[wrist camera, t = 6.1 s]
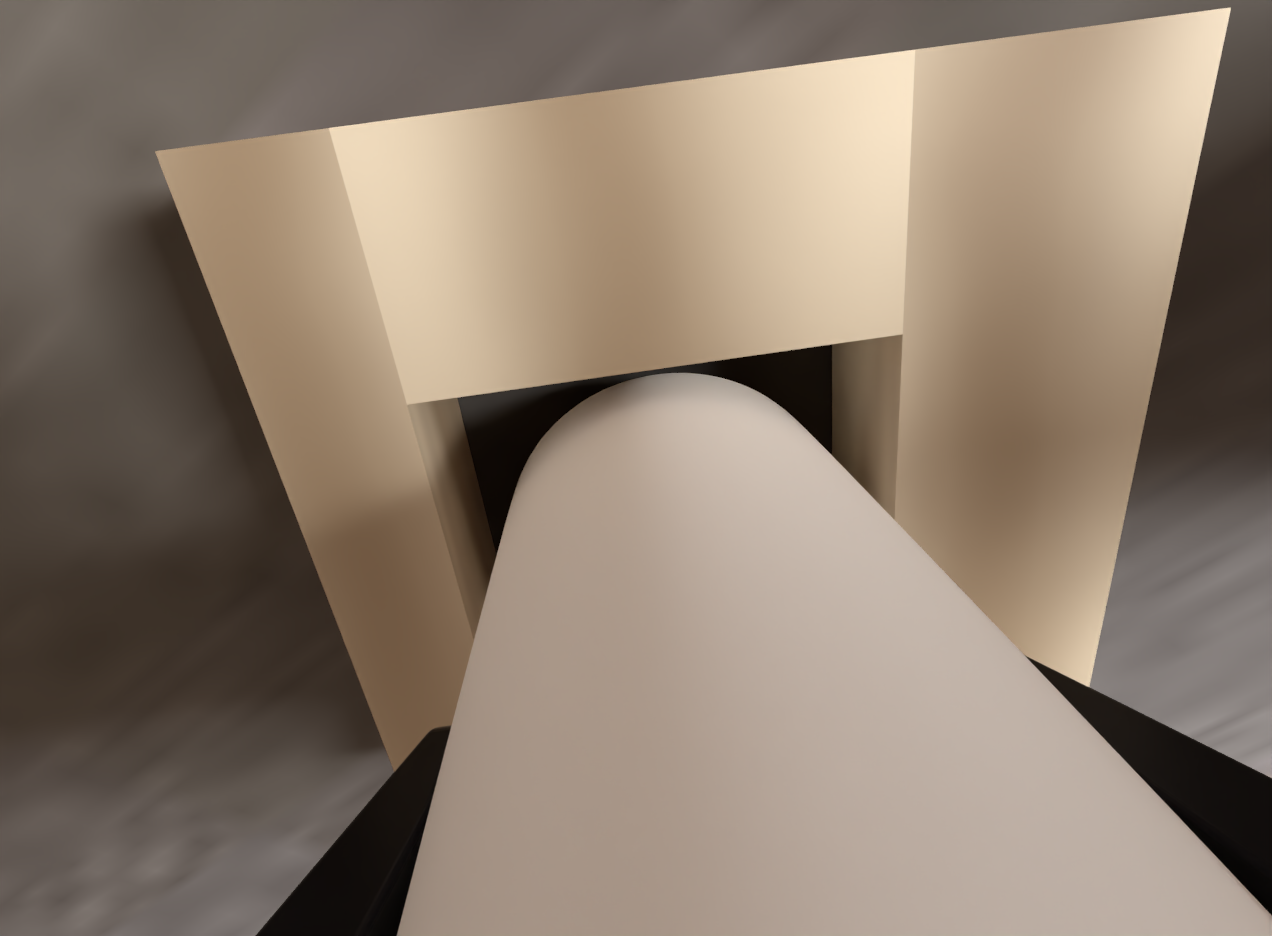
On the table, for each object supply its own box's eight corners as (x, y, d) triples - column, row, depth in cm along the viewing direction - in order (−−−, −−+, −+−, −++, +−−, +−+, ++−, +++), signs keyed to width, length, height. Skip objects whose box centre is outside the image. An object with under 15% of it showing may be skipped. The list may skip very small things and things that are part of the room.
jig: (1068, 56, 11) (1231, 7, 8) (993, 649, 16) (1077, 742, 13) (266, 164, 11) (154, 151, 8) (450, 731, 16) (422, 843, 13)
